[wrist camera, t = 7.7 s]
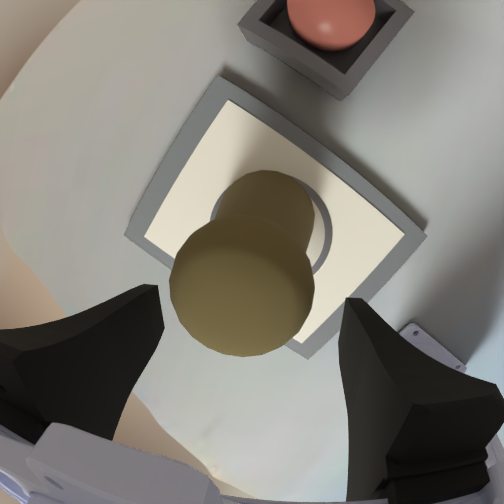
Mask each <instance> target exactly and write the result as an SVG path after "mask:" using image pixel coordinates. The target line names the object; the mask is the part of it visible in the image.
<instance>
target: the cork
mask: <svg viewBox="0 0 504 504" xmlns="http://www.w3.org/2000/svg"><path fill="white" fill-rule="evenodd" d="M314 218H315V213H314V209H313V204H312V200H311V198H310V197H309V195H308V193H307V192H306V190H305V189H304V187H303V186H302V185H301V184H299V183H298V182H297V181H296V180H295V179H294V178H292V177H290V176H288V175H286V174H283V173H281V172H278V171H270V170H259V171H255V172H251V173H247V174H245V175H244V176H242V177H241V178H239V179H237V180H236V181H234V182H233V184H232V185H231V186H230V187H229V189H228V190H227V191H226V192H225V194H224V197H223V199H222V201H221V204H220V206H219V209H218V211H217V214H216V216H215V219H214V220H212V221H210V222H208V223H207V224H205V225H204V226H202V227H201V228H199V229H198V230H196V231H194V232H193V233H192V234H191V235H190V236H189V237H188V239H187V240H186V241H185V243H184V244H183V245H182V247H181V248H180V249H179V251H178V252H177V254H176V257H175V261H174V264H173V268H172V271H171V275H170V279H169V284H170V297H171V301H172V304H173V306H174V309H175V311H176V314H177V316H178V318H179V321H180V323H181V324H182V325H183V326H184V327H185V329H186V330H187V331H188V332H189V334H190V335H191V336H192V337H193V338H195V339H196V340H198V341H199V342H200V343H202V344H203V345H204V346H206V347H207V348H210V349H212V350H215V351H217V352H220V353H222V354H225V355H232V356H240V357H248V356H256V355H263V354H265V353H268V352H270V351H272V350H275V349H277V348H279V347H281V346H283V345H284V344H286V343H287V342H288V341H289V340H290V339H292V338H293V337H294V336H295V335H296V334H297V333H299V331H300V330H301V328H302V326H303V324H304V323H305V321H306V319H307V317H308V316H309V313H310V311H311V309H312V304H313V298H314V292H315V283H314V277H313V272H312V268H311V263H310V259H309V258H308V256H307V254H306V251H307V248H308V245H309V242H310V238H311V235H312V232H313V227H314Z"/></svg>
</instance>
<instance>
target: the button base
mask: <svg viewBox="0 0 504 504" xmlns="http://www.w3.org/2000/svg"><path fill="white" fill-rule="evenodd" d="M373 1H374V4H375V18H374V21H373V23H372V25H371V26H370V28H369V29H368V31H367V32H366V33H365V35H364V36H363V37H362V39H361V40H360V41H359V42H358V44H356V45H355V46H354V47H352V48H350V49H348V50H345V51H341V52H324V51H320V50H316V49H314V48H311V47H310V46H308V45H306V44H305V43H303V42H302V41H301V40H300V39H299V38H298V37H297V36H296V35H295V33H294V32H293V30H292V28H291V26H290V23H289V16H288V6H287V0H257V1H256V2H255V4H254V5H253V6H252V7H251V8H250V10H249V11H248V12H247V13H246V14H245V16H244V17H243V18H242V19H241V21H240V22H239V23H238V24H237V25H238V26H239V28H240V29H241V31H242V33H243V34H244V36H245V38H246V39H247V41H249V42H250V43H252V44H254V45H256V46H258V47H259V48H261V49H263V50H264V51H266V52H268V53H269V54H271V55H273V56H274V57H276V58H278V59H279V60H281V61H282V62H284V63H286V64H287V65H289V66H290V67H292V68H293V69H295V70H296V71H298V72H299V73H301V74H302V75H304V76H305V77H307V78H308V79H310V80H311V81H313V82H314V83H316V84H317V85H318V86H320V87H321V88H323V89H324V90H325V91H327V92H328V93H330V94H331V95H332V96H334V97H335V98H336V99H338V100H339V101H341V100H343V99H344V98H346V97H347V96H348V95H349V94H350V93H351V92H352V90H353V89H354V88H355V87H356V85H357V84H358V83H359V81H360V80H361V79H362V78H363V76H364V75H365V74H366V72H367V71H368V70H369V69H370V67H371V66H372V65H373V64H374V62H375V61H376V60H377V58H378V57H379V56H380V55H381V53H382V52H383V51H384V50H385V48H386V47H387V46H388V44H389V43H390V42H391V41H392V39H393V38H394V37H395V36H396V34H397V33H398V32H399V31H400V29H401V28H402V27H403V26H404V24H405V23H406V22H407V21H408V19H409V18H410V17H411V16H412V14H413V13H414V11H413V10H412V9H411V8H409V7H408V6H407V5H405V4H404V3H403V2H401V1H400V0H373Z"/></svg>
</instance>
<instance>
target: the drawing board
mask: <svg viewBox="0 0 504 504" xmlns="http://www.w3.org/2000/svg"><path fill="white" fill-rule="evenodd" d="M259 170H270V171H278V172H281V173H283V174H286V175H288V176H290V177H292V178H294V179H295V180H296V181H297V182H298V183H299V184H301V185H302V186H303V187H304V189H305V190H306V192H307V193H308V195H309V197H310V198H311V200H312V204H313V209H314V213H315V218H314V227H313V232H312V235H311V238H310V242H309V245H308V248H307V251H306V254H307V256H308V258H309V259H310V263H311V268H312V272H313V277H314V283H315V292H314V298H313V304H312V309H311V311H310V313H309V316H308V317H307V319H306V321H305V323H304V324H303V326H302V328H301V330H300V331H299V333H297V334H296V335H295V336H294V337H293V338H292V339H290V340H289V341H288V342H287V343H286V344H284V345H285V346H287V347H288V348H290V349H292V350H293V351H295V352H296V353H298V354H300V355H301V356H303V357H305V358H306V359H309V358H310V357H312V356H313V355H314V354H315V353H316V352H317V351H318V350H319V349H320V348H321V347H323V346H324V345H325V344H326V343H327V342H328V341H329V340H330V339H331V338H332V337H333V336H334V335H335V334H336V333H337V332H338V331H340V329H341V323H342V317H343V311H344V305H345V298H346V297H349V298H362V299H363V300H364V301H365V302H366V303H368V302H369V301H370V300H371V299H372V298H373V297H374V296H375V294H376V293H377V292H378V291H379V290H380V289H381V288H382V287H383V286H384V285H385V284H386V283H387V282H388V281H389V280H390V278H391V277H392V276H393V275H394V274H395V273H396V272H397V271H398V270H399V269H400V267H401V266H402V265H403V264H404V263H405V262H406V261H407V260H408V258H409V257H410V256H411V255H412V254H413V253H414V252H415V250H416V249H417V248H418V247H419V246H420V245H421V243H422V242H423V241H424V240H425V239H426V237H427V235H426V234H425V233H424V232H423V231H422V230H421V229H420V228H419V227H418V226H417V225H416V224H415V223H414V222H413V221H412V220H411V219H409V218H408V217H407V216H406V215H405V214H404V213H403V212H402V211H401V210H400V209H399V208H398V207H396V206H395V205H394V204H393V203H392V202H391V201H390V200H389V199H388V198H386V197H385V196H384V195H383V194H382V193H381V192H380V191H378V190H377V189H376V188H375V187H374V186H373V185H371V184H370V183H369V182H368V181H367V180H366V179H364V178H363V177H362V176H361V175H360V174H358V173H357V172H356V171H355V170H353V169H352V168H351V167H350V166H349V165H347V164H346V163H345V162H344V161H342V160H341V159H340V158H338V157H337V156H336V155H335V154H333V153H332V152H331V151H329V150H328V149H327V148H326V147H324V146H323V145H322V144H320V143H319V142H318V141H316V140H315V139H314V138H312V137H311V136H310V135H308V134H307V133H305V132H304V131H303V130H301V129H300V128H299V127H297V126H296V125H294V124H293V123H292V122H290V121H289V120H287V119H286V118H284V117H283V116H281V115H280V114H279V113H277V112H276V111H274V110H273V109H271V108H270V107H268V106H267V105H265V104H264V103H262V102H261V101H259V100H258V99H256V98H254V97H253V96H251V95H250V94H248V93H247V92H245V91H243V90H242V89H240V88H239V87H237V86H235V85H234V84H232V83H230V82H229V81H227V80H225V79H224V78H222V77H220V76H219V75H217V77H216V78H215V79H214V81H213V82H212V84H211V85H210V87H209V88H208V90H207V91H206V93H205V94H204V95H203V97H202V98H201V100H200V101H199V103H198V104H197V106H196V108H195V109H194V111H193V112H192V114H191V115H190V117H189V118H188V120H187V122H186V123H185V125H184V126H183V128H182V130H181V131H180V133H179V134H178V136H177V138H176V139H175V141H174V143H173V144H172V146H171V148H170V149H169V151H168V153H167V154H166V156H165V158H164V160H163V161H162V163H161V165H160V166H159V168H158V170H157V172H156V174H155V175H154V177H153V179H152V181H151V183H150V184H149V186H148V188H147V190H146V192H145V194H144V196H143V197H142V199H141V201H140V203H139V205H138V207H137V209H136V211H135V213H134V215H133V217H132V219H131V221H130V223H129V225H128V227H127V229H126V231H125V233H124V236H125V237H127V238H128V239H129V240H131V241H132V242H134V243H135V244H136V245H138V246H139V247H140V248H142V249H143V250H144V251H146V252H147V253H148V254H150V255H151V256H153V257H154V258H155V259H157V260H158V261H160V262H161V263H162V264H164V265H165V266H167V267H168V268H169V269H171V270H172V268H173V264H174V261H175V257H176V254H177V252H178V251H179V249H180V248H181V247H182V245H183V244H184V243H185V241H186V240H187V239H188V237H189V236H190V235H191V234H192V233H193V232H194V231H196V230H198V229H199V228H201V227H202V226H204V225H205V224H207V223H208V222H210V221H212V220H214V219H215V216H216V214H217V211H218V209H219V206H220V204H221V201H222V199H223V197H224V194H225V192H226V191H227V190H228V189H229V187H230V186H231V185H232V184H233V182H234V181H236V180H237V179H239V178H241V177H242V176H244V175H245V174H247V173H251V172H255V171H259Z"/></svg>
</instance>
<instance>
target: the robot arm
mask: <svg viewBox="0 0 504 504" xmlns="http://www.w3.org/2000/svg"><path fill="white" fill-rule="evenodd" d="M164 328H165V327H164V322H163V316H162V310H161V304H160V297H159V291H158V285H149V284H143V285H140V286H137V287H135V288H132V289H130V290H128V291H126V292H124V293H122V294H120V295H118V296H116V297H114V298H112V299H109V300H107V301H105V302H103V303H101V304H99V305H96V306H94V307H92V308H90V309H87V310H85V311H83V312H80V313H78V314H75V315H72V316H69V317H66V318H63V319H60V320H57V321H53V322H49V323H45V324H41V325H36V326H30V327H24V328H16V329H3V330H0V488H2V489H3V490H4V491H6V492H7V493H8V494H10V495H11V496H12V497H14V498H15V499H16V500H18V501H19V502H21V503H22V504H504V449H503V446H502V444H501V442H500V439H499V437H498V435H497V432H498V431H499V429H500V428H501V426H502V424H503V423H504V398H503V396H502V395H501V393H500V391H499V389H498V387H497V385H496V384H493V383H490V382H487V381H484V380H481V379H477V378H474V377H471V376H469V375H466V374H464V373H465V372H466V370H467V368H466V366H465V365H464V364H463V363H462V362H461V361H460V360H458V359H457V358H456V357H455V356H454V355H452V354H451V353H450V352H449V351H448V350H447V349H445V348H444V347H443V346H442V345H441V344H439V343H438V342H437V341H436V340H435V339H433V338H432V337H431V336H430V335H429V334H427V333H426V332H425V331H424V330H422V329H421V328H420V327H419V326H418V325H416V324H415V323H410V324H409V325H407V326H406V327H405V328H404V329H403V330H402V331H401V332H400V333H397V332H396V331H395V330H394V329H393V328H392V327H391V326H390V325H388V324H387V323H386V322H385V321H384V320H383V319H382V318H381V317H380V316H379V315H378V314H377V313H376V312H375V311H374V310H373V309H372V308H371V307H370V306H369V305H368V304H367V303H366V302H365V301H364V300H363V299H362V298H349V297H346V298H345V305H344V311H343V317H342V323H341V329H340V335H339V341H338V347H339V365H340V371H341V377H342V383H343V388H344V394H345V400H346V406H347V414H348V432H349V462H348V484H347V497H346V502H286V501H271V500H259V499H249V498H241V497H234V496H227V495H220V491H219V489H218V488H217V486H216V485H215V484H214V483H213V482H212V480H211V479H210V478H209V477H208V476H207V475H206V474H204V473H202V472H200V471H199V470H197V469H195V468H194V467H192V466H190V465H188V464H186V463H183V462H180V461H177V460H174V459H171V458H168V457H165V456H162V455H158V454H154V453H150V452H146V451H143V450H139V449H136V448H132V447H129V446H126V445H123V444H119V443H116V442H113V441H112V440H113V437H114V433H115V430H116V427H117V425H118V422H119V419H120V417H121V414H122V411H123V409H124V407H125V404H126V402H127V399H128V397H129V395H130V393H131V391H132V389H133V387H134V385H135V384H136V382H137V380H138V378H139V377H140V375H141V373H142V372H143V370H144V368H145V367H146V365H147V363H148V362H149V360H150V358H151V357H152V355H153V353H154V352H155V350H156V348H157V346H158V343H159V341H160V339H161V336H162V333H163V331H164ZM415 331H417V332H416V333H414V332H415ZM457 365H458V366H457Z"/></svg>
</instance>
